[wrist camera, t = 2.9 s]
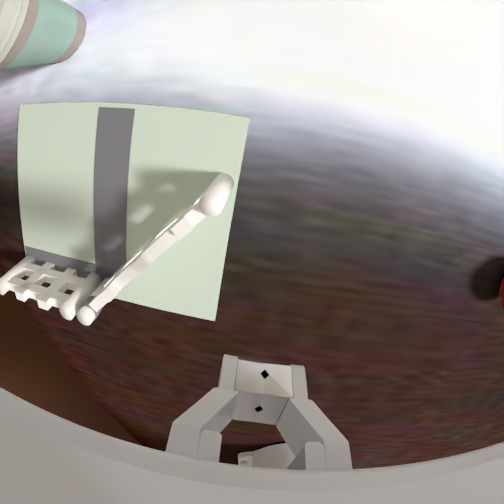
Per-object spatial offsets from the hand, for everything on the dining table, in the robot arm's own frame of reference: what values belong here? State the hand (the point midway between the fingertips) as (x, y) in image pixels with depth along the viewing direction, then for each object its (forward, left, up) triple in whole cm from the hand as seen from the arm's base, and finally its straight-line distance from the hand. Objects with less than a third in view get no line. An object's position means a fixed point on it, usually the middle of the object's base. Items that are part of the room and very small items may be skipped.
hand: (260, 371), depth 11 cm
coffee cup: (+15, +22, -18) cm, 32 cm away
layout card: (-2, +15, -18) cm, 23 cm away
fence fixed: (-10, +21, -17) cm, 29 cm away
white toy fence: (-4, +9, -17) cm, 20 cm away
